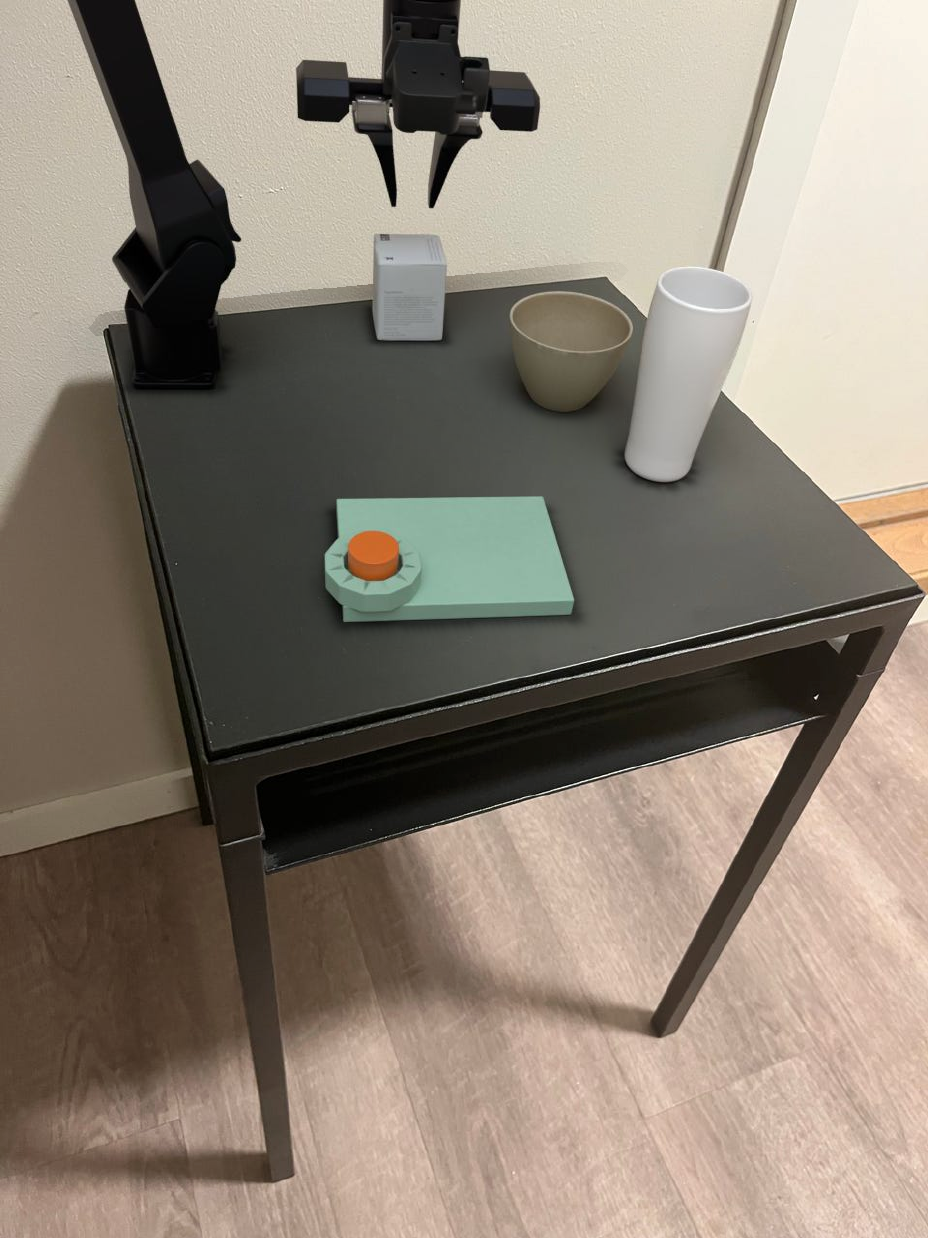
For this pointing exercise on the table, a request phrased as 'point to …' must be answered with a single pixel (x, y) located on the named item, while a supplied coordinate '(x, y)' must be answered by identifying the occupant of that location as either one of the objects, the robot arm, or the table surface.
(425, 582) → the scale
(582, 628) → the table surface
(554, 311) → the flower pot
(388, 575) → the button
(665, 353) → the drinking glass
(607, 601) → the table surface
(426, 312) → the white cardboard box
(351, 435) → the table surface
